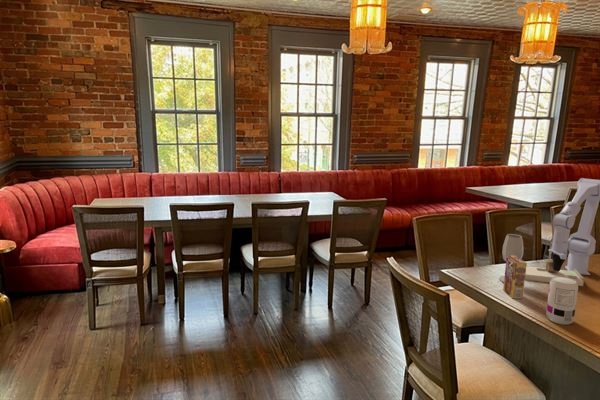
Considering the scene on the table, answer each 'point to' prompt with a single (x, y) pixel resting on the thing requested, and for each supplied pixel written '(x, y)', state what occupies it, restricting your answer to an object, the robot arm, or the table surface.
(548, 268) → the block
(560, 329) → the table surface
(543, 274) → the beige flat block
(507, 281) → the candy box
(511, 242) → the wineglass
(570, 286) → the supplement can
